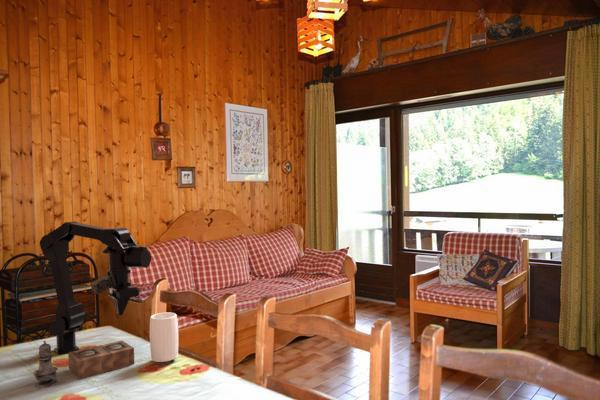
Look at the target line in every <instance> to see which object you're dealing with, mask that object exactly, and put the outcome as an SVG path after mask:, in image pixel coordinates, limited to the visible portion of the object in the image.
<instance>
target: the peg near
mask: <svg viewBox="0 0 600 400" xmlns="http://www.w3.org/2000/svg"><path fill="white" fill-rule="evenodd" d="M92 354H95V351H85V352H82V353H80V357H83V356H88V355H92Z"/></svg>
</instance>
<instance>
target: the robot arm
mask: <svg viewBox="0 0 600 400" xmlns="http://www.w3.org/2000/svg"><path fill="white" fill-rule="evenodd" d="M75 236H77V237H82V238H88V239H90V240H91V239H92V240H97V241H99V242H100V243H101V244H103V245H105V246H106V248H105V249H103V250H102V253H103V254H108V264H109V265H108V267H109V269H108V270H106V275H105V276H102V277H100V278H98V279H96V280H94V281H92V282H90V283H89V285H90V287H91V289H92V292H93V293H94V294H96V295H99V294H102V293H103V292H106V290H109V292H108V293H106V294H107V295H108V297H110V298H111V299H112V300H113V302H114V303H113V304H114V306H115V308H116V313H117V315H118V316H122V315H124V312H125V311H126V308H127V305H128V303H129V301H130V299H131V298H132V297H134V298H135V297H139V296H140V293H141V291H140V288H139V287H138V286H134V285H133V284H132V282H130V275H129V274H131V269H129V268H139V269H140V268H141V269H145V268H146V269H147V268H148V267H149V266H150V265H151V263H152V255H151V253H150V251H149V250H148V247H147V245H142V246H139V245H138V244H137V242H136V241H135V239H134V237H133V236H132V235H131V233H130V231H129V229H128V228H127V227H101V226H97V225H92V224H87V223H86V224H85V223H80V222H78V221H65V222H63V223H62V224H61V225H60V226H58V227H57V228H55V229H54V230H51V231H50V232H49V233H47V234H45V235H43V236H42V237H41V239H40V240H39V246H40V249H41V251H42V255H43V256H44V257H45V258H46V259H47V260H48V262H49V263H50V269H51V275H52V278H53V284H54V288H55V295H56V298H57V303H58V304H57V308H56V310H55V312H54V313H55V321H54V322H53V324H52V325H51V326H50V327H49V329H48V331H49V334H50V335H51V336H55V337H56V347H54V348H53V351H54V352H55V353H56V354H57V355H62V354H65V353H66V354H68V353H69V352H73V351H78V350H80V348H79V347H78V346H77V343H76V340H77V339H76V331H77V330H80V329H81V327H82V324H83V322H84V320H85V315H86V312H85V310H84V309H85V308H84V304H83V303H82V302H80V303H79V302H78V301H77V300H76V298H75V294H74V290H73V285H72V281H71V280H72V279H71V275H70V270H69V265H68V261H67V257H68V253H69V251H70V244H69V243H71V242H72V241H73V240H74V239H75Z"/></svg>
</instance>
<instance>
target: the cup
mask: <svg viewBox="0 0 600 400" xmlns="http://www.w3.org/2000/svg"><path fill="white" fill-rule="evenodd" d="M149 346H150V358H151V361H153V362H156V363H157V362H158V363H164V362H169V361H173V360H176V359H177V358H178V355H179V324H178V315H177V314H176V313H175V312H167V311H165V312H159V313H154V314H152V315H151V316H150V317H149Z"/></svg>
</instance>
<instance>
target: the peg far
mask: <svg viewBox="0 0 600 400" xmlns="http://www.w3.org/2000/svg"><path fill="white" fill-rule="evenodd" d="M121 347H122V345H119V344H117V345H111V346H109V347H108V350H113V349H117V348H121Z"/></svg>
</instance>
